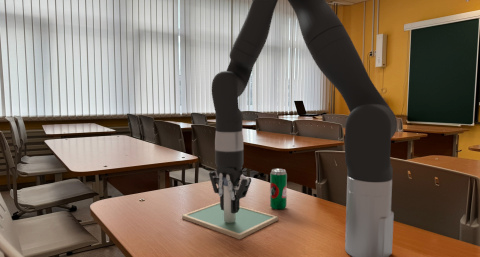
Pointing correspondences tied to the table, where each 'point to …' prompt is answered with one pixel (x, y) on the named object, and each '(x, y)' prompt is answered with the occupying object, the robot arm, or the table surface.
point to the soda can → (278, 189)
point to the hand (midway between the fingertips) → (229, 210)
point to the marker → (228, 203)
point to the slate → (240, 228)
